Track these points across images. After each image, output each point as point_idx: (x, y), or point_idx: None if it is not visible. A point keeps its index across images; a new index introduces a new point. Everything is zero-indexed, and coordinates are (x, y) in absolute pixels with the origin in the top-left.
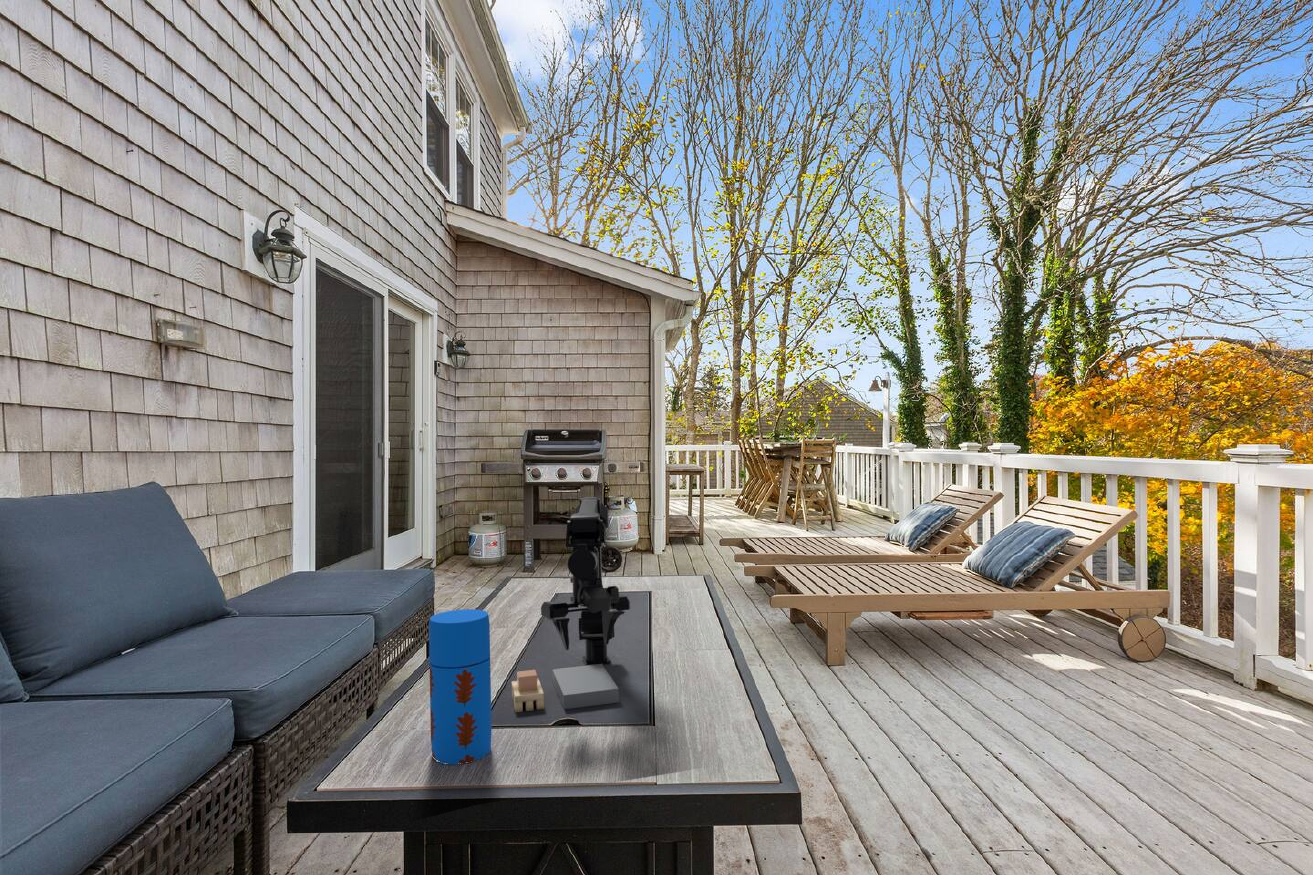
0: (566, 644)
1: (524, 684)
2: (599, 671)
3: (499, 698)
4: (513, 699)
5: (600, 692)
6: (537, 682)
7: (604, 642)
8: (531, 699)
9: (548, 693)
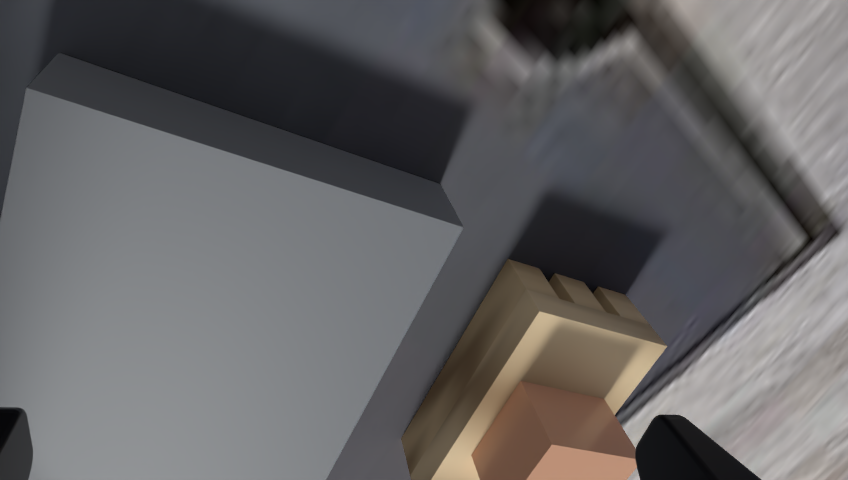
0: (739, 468)
1: (594, 418)
2: None
3: None
4: None
5: (201, 137)
6: (457, 457)
7: (28, 469)
8: (585, 309)
9: (369, 411)
